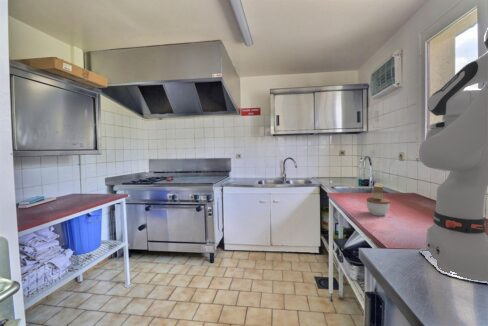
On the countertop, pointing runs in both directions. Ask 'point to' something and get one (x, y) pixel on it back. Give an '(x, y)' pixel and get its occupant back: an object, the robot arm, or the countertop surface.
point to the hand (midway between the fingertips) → (453, 155)
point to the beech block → (378, 191)
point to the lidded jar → (378, 206)
